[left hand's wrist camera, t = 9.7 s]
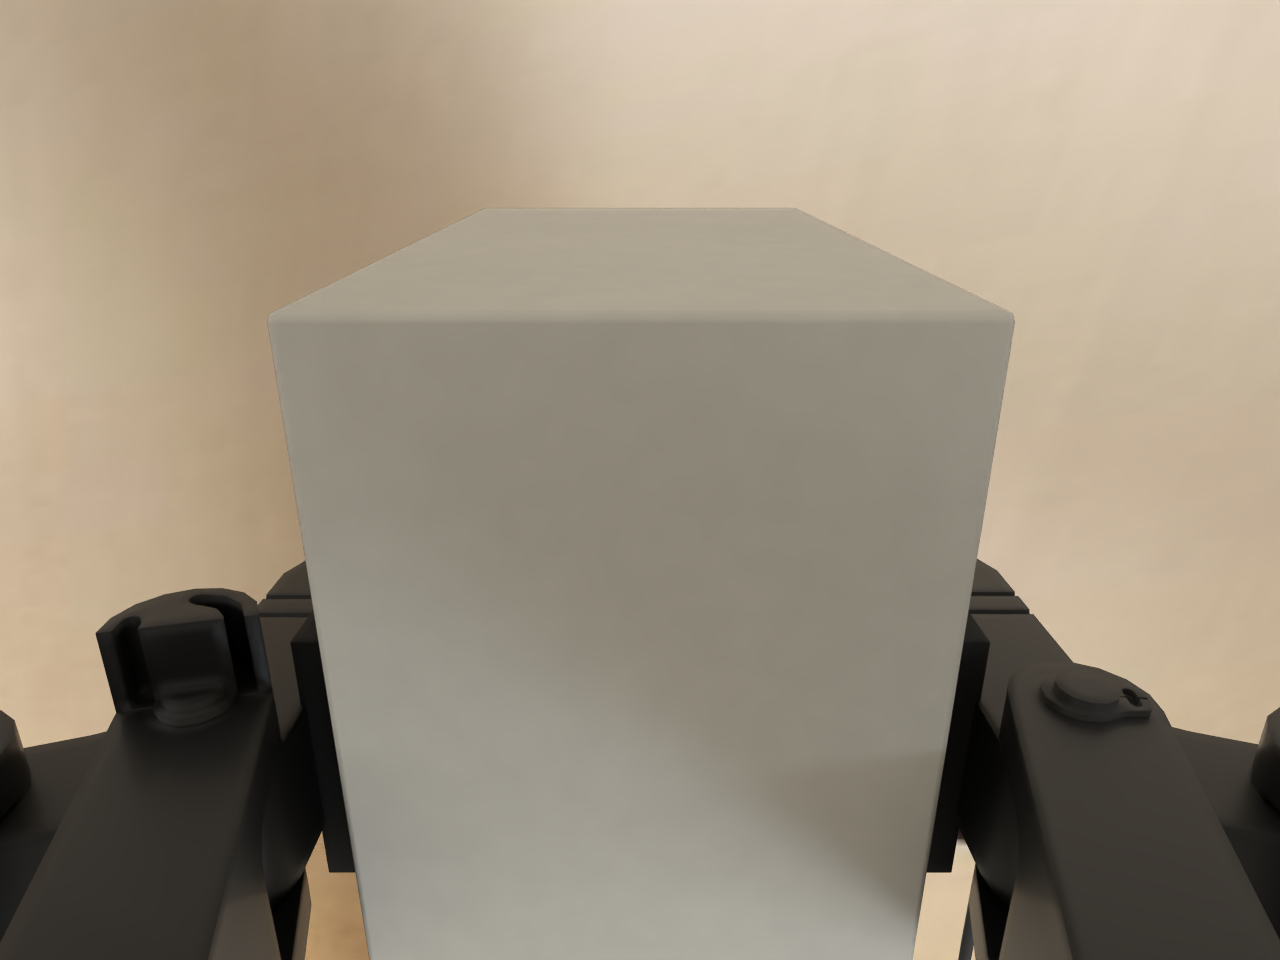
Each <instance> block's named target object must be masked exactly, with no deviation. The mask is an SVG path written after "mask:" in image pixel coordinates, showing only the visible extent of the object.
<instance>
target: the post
mask: <svg viewBox="0 0 1280 960" xmlns="http://www.w3.org/2000/svg"><path fill="white" fill-rule="evenodd" d="M1014 324H1015V321H1014V316H1013V313H1011V312H1009V311H1007V310H1005V309H1003V308H1001V307H999V306H997V305H995V304H992V303H990V302H988V301H986V300H984V299H982V298H980V297H978V296H976V295H974V294H972V293H970V292H968V291H966V290H964V289H962V288H959V287H957V286H955V285H953V284H951V283H949V282H947V281H945V280H943V279H941V278H939V277H937V276H935V275H933V274H931V273H928V272H926V271H924V270H922V269H920V268H918V267H916V266H914V265H912V264H910V263H908V262H906V261H904V260H902V259H900V258H897V257H895V256H893V255H891V254H889V253H887V252H885V251H883V250H881V249H879V248H877V247H875V246H873V245H871V244H869V243H867V242H864V241H862V240H860V239H858V238H856V237H854V236H852V235H850V234H848V233H846V232H844V231H842V230H840V229H838V228H836V227H833V226H831V225H829V224H827V223H825V222H823V221H821V220H819V219H817V218H815V217H813V216H811V215H809V214H807V213H805V212H802V211H800V210H798V209H796V208H484V209H482V210H480V211H478V212H476V213H474V214H472V215H470V216H468V217H466V218H463V219H461V220H459V221H457V222H455V223H453V224H451V225H449V226H447V227H445V228H443V229H441V230H439V231H437V232H435V233H433V234H431V235H429V236H427V237H425V238H423V239H421V240H419V241H417V242H415V243H413V244H410V245H408V246H406V247H404V248H402V249H400V250H398V251H396V252H394V253H392V254H390V255H388V256H386V257H384V258H382V259H380V260H378V261H376V262H374V263H372V264H370V265H368V266H366V267H364V268H362V269H359V270H357V271H355V272H353V273H351V274H349V275H347V276H345V277H343V278H341V279H339V280H337V281H335V282H333V283H331V284H329V285H327V286H325V287H323V288H321V289H319V290H317V291H315V292H313V293H311V294H308V295H306V296H304V297H302V298H300V299H298V300H296V301H294V302H292V303H290V304H288V305H286V306H284V307H282V308H280V309H278V310H276V311H274V312H272V313H270V314H269V317H268V329H269V335H270V341H271V348H272V354H273V360H274V366H275V373H276V379H277V385H278V391H279V398H280V404H281V410H282V416H283V423H284V429H285V435H286V441H287V447H288V454H289V460H290V466H291V472H292V479H293V485H294V491H295V497H296V504H297V510H298V516H299V522H300V529H301V535H302V541H303V547H304V554H305V560H306V566H307V572H308V579H309V585H310V591H311V597H312V604H313V610H314V616H315V622H316V629H317V635H318V641H319V647H320V653H321V660H322V666H323V672H324V678H325V685H326V691H327V697H328V703H329V710H330V716H331V722H332V728H333V735H334V741H335V747H336V753H337V760H338V766H339V772H340V778H341V785H342V791H343V797H344V803H345V810H346V816H347V822H348V828H349V835H350V841H351V847H352V853H353V860H354V866H355V872H356V878H357V884H358V891H359V897H360V903H361V909H362V916H363V922H364V928H365V934H366V941H367V947H368V953H369V959H370V960H912V959H913V953H914V946H915V940H916V934H917V928H918V922H919V915H920V909H921V903H922V897H923V890H924V884H925V878H926V872H927V866H928V859H929V853H930V847H931V841H932V834H933V828H934V822H935V816H936V809H937V803H938V797H939V791H940V785H941V778H942V772H943V766H944V760H945V753H946V747H947V741H948V735H949V729H950V722H951V716H952V710H953V704H954V697H955V691H956V685H957V679H958V672H959V666H960V660H961V654H962V648H963V641H964V635H965V629H966V623H967V616H968V610H969V604H970V598H971V592H972V585H973V579H974V573H975V567H976V560H977V554H978V548H979V542H980V535H981V529H982V523H983V517H984V511H985V504H986V498H987V492H988V486H989V479H990V473H991V467H992V461H993V455H994V448H995V442H996V436H997V430H998V423H999V417H1000V411H1001V405H1002V399H1003V392H1004V386H1005V380H1006V374H1007V367H1008V361H1009V355H1010V349H1011V342H1012V336H1013V330H1014Z"/></svg>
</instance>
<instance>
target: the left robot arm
mask: <svg viewBox="0 0 1280 960" xmlns="http://www.w3.org/2000/svg"><path fill="white" fill-rule="evenodd" d="M96 637H97V641H98V645H99V649H100V652H101V656H102V660H103V664H104V668H105V671H106V675H107V679H108V683H109V687H110V690H111V694H112V698H113V702H114V706H115V709H116V714H115V716H114V718H113V720H112V722H111V724H110V726H109V728H108V730H107V732H103V733H99V734H95V735H91V736H85V737H80V738H75V739H70V740H64V741H59V742H54V743H49V744H44V745H38V746H33V747H28V748H23V746H22V743H21V739H20V736H19V733H18V730H17V727H16V724H15V720H13V719H12V718H11V717H9V716H8V715H7V714H5V713H4V712H3V711H1V710H0V960H305V952H306V944H307V936H308V928H309V920H310V912H311V898H310V892H309V885H308V880H307V874H306V869H305V866H306V864H307V862H308V860H309V858H310V856H311V853H312V851H313V849H314V847H315V845H316V843H317V840H318V838H319V836H320V834H321V832H322V833H323V839H324V845H325V850H326V856H327V862H328V868H329V872H355V866H354V860H353V853H352V847H351V841H350V835H349V828H348V822H347V816H346V810H345V803H344V797H343V791H342V785H341V778H340V772H339V766H338V760H337V753H336V747H335V741H334V735H333V728H332V722H331V716H330V710H329V703H328V697H327V691H326V685H325V678H324V672H323V666H322V660H321V653H320V647H319V641H318V635H317V629H316V622H315V616H314V610H313V604H312V597H311V591H310V585H309V579H308V572H307V566H306V561H304V562H302V563H301V564H299V565H297V566H296V567H294V568H292V569H291V570H289V571H287V572H286V573H284V574H283V575H282V577H281V578H280V579H279V580H278V581H277V583H276V584H275V585H274V586H273V587H272V589H271V590H270V591H269V592H268V594H267V595H266V599H263V600H262V601H261V602H260V603H259V605H257V601H255V600H254V599H252V598H251V597H250V596H248V595H247V594H245V593H244V592H239V591H234V590H229V589H224V588H211V589H192V590H186V591H181V592H175V593H170V594H165V595H162V596H159V597H156V598H153V599H150V600H147V601H144V602H141V603H138V604H136V605H134V606H132V607H130V608H128V609H126V610H125V611H123V612H121V613H119V614H117V615H116V616H114V617H112V618H110V619H109V620H108V621H107V622H106V623H105V624H104V625H103V626H102V627H101V628H100V629H99V630H98V631H97V632H96ZM959 828H960V830H961V833H962V835H963V837H964V839H965V841H966V843H967V846H968V848H969V850H970V852H971V854H972V856H973V859H974V861H975V869H974V874H973V880H972V885H971V891H970V896H969V902H968V907H967V913H966V918H965V924H964V929H963V935H962V940H961V946H960V953H959V959H958V960H971V956H972V951H973V946H974V950H975V958H976V960H1280V707H1279V708H1278V709H1277V710H1275V711H1274V712H1273V713H1271V714H1270V715H1268V716H1267V720H1266V723H1265V726H1264V729H1263V732H1262V735H1261V739H1260V742H1259V745H1258V744H1253V743H1247V742H1242V741H1237V740H1232V739H1226V738H1221V737H1216V736H1210V735H1205V734H1200V733H1195V732H1190V731H1186V730H1182V729H1178V728H1174V727H1171V725H1170V723H1169V721H1168V719H1167V717H1166V715H1165V713H1164V711H1163V710H1162V709H1161V708H1160V706H1159V705H1158V704H1157V703H1156V702H1155V700H1154V699H1153V698H1152V697H1151V696H1150V695H1149V694H1148V693H1146V692H1145V691H1143V690H1142V689H1140V688H1139V687H1137V686H1136V685H1134V684H1133V683H1131V682H1130V681H1128V680H1126V679H1124V678H1121V677H1119V676H1117V675H1114V674H1112V673H1109V672H1107V671H1104V670H1102V669H1099V668H1095V667H1090V666H1086V665H1081V664H1077V663H1073V662H1072V660H1071V659H1070V658H1069V657H1068V656H1067V654H1066V653H1065V652H1064V651H1063V650H1062V648H1061V647H1060V646H1059V645H1058V644H1057V642H1056V641H1055V640H1054V639H1053V638H1052V636H1051V635H1050V634H1049V633H1048V632H1047V630H1046V629H1045V628H1044V627H1043V625H1042V624H1041V623H1040V622H1039V621H1038V619H1037V618H1036V617H1035V616H1034V615H1033V614H1030V613H1029V609H1028V607H1027V606H1026V605H1025V604H1024V603H1023V601H1022V600H1021V599H1020V598H1019V597H1018V596H1015V592H1014V590H1013V589H1012V588H1011V587H1010V586H1009V584H1008V583H1007V582H1006V581H1005V580H1004V578H1003V577H1002V576H1001V575H1000V574H999V572H998V571H997V570H995V569H993V568H992V567H990V566H988V565H987V564H985V563H983V562H982V561H980V560H978V559H977V560H976V567H975V573H974V579H973V585H972V592H971V598H970V604H969V610H968V616H967V623H966V629H965V635H964V641H963V648H962V654H961V660H960V666H959V672H958V679H957V685H956V691H955V697H954V704H953V710H952V716H951V722H950V729H949V735H948V741H947V747H946V753H945V760H944V766H943V772H942V778H941V785H940V791H939V797H938V803H937V809H936V816H935V822H934V828H933V834H932V841H931V847H930V853H929V859H928V866H927V872H951V871H952V865H953V860H954V854H955V848H956V842H957V836H958V830H959Z"/></svg>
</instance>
